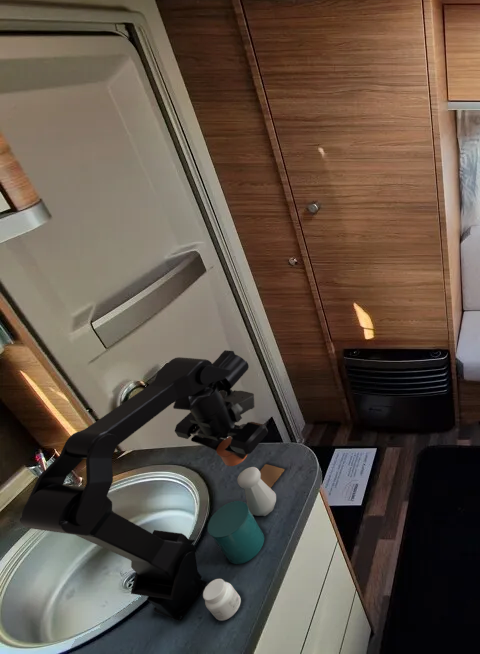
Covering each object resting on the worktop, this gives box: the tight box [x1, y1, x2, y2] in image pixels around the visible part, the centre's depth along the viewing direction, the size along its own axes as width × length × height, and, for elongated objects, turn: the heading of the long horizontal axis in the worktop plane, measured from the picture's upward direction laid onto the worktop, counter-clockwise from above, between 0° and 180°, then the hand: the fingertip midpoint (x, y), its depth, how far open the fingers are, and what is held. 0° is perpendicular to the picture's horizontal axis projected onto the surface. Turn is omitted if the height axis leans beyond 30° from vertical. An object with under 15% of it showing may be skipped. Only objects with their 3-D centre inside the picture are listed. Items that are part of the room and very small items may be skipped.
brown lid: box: [216, 436, 249, 467], centre depth 93 cm, size 5×5×4 cm
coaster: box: [259, 463, 285, 489], centre depth 102 cm, size 6×6×1 cm
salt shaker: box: [236, 466, 277, 517], centre depth 93 cm, size 6×6×13 cm
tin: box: [207, 500, 265, 565], centre depth 86 cm, size 7×7×11 cm
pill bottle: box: [202, 578, 242, 622], centre depth 78 cm, size 4×4×8 cm
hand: (234, 454), depth 93 cm, fingers closed on brown lid, 5 cm apart
